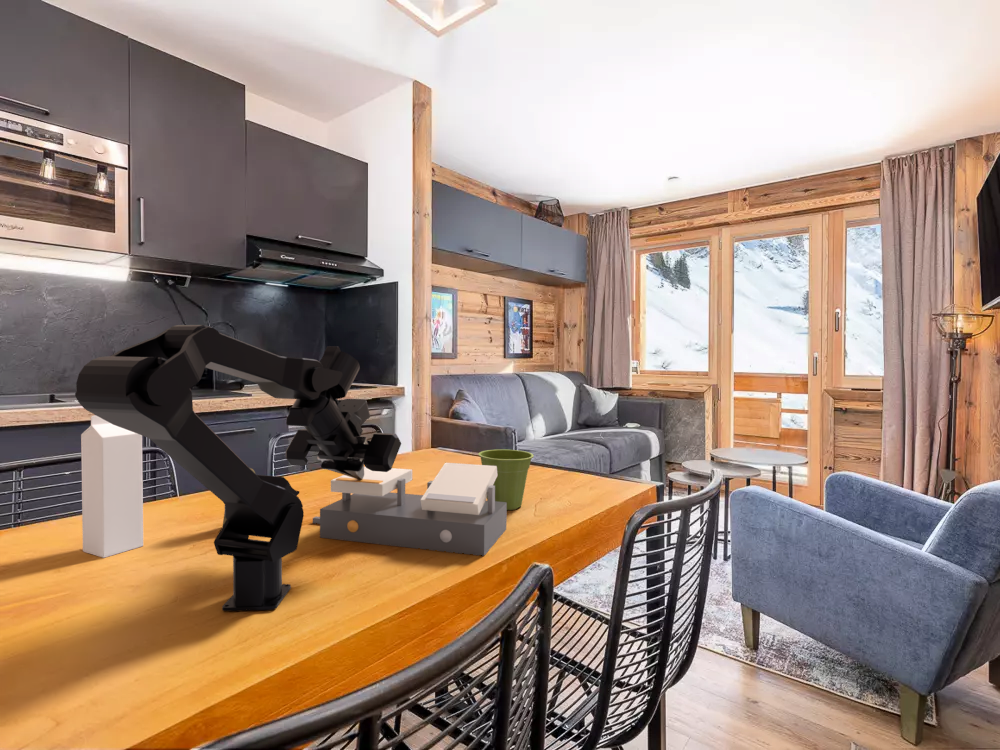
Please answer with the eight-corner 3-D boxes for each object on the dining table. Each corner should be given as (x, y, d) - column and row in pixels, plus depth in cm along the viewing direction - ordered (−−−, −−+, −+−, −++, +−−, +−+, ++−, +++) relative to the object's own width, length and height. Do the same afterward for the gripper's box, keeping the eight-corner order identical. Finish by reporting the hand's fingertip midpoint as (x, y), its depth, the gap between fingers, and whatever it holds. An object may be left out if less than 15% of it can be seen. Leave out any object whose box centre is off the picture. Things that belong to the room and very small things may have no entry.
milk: (82, 552, 85) (79, 414, 84) (123, 540, 90) (120, 411, 89) (104, 558, 82) (100, 416, 81) (144, 546, 87) (142, 413, 87)
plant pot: (501, 517, 105) (502, 461, 105) (466, 504, 114) (467, 452, 114) (544, 507, 112) (545, 455, 112) (508, 496, 122) (508, 447, 121)
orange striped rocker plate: (382, 496, 90) (382, 483, 90) (330, 491, 93) (330, 479, 93) (412, 479, 102) (412, 468, 102) (365, 476, 104) (365, 465, 104)
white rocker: (478, 514, 86) (477, 503, 86) (422, 509, 89) (420, 498, 88) (497, 475, 97) (496, 465, 96) (446, 471, 100) (445, 461, 99)
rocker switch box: (483, 556, 84) (484, 497, 84) (289, 534, 94) (289, 481, 94) (506, 529, 98) (506, 478, 98) (335, 512, 107) (335, 465, 107)
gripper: (396, 384, 85) (423, 442, 96) (296, 382, 90) (333, 437, 101) (371, 440, 78) (404, 496, 88) (264, 434, 82) (307, 488, 93)
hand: (361, 477), depth 93 cm, fingers closed
